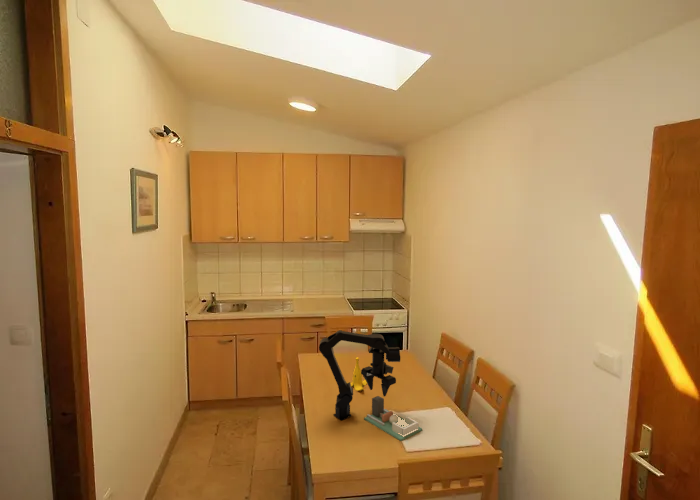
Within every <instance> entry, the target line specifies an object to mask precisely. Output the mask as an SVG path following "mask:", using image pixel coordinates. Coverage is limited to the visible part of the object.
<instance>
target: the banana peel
mask: <svg viewBox="0 0 700 500" xmlns="http://www.w3.org/2000/svg"><path fill="white" fill-rule="evenodd" d="M359 360H360V357H355V367H354V370H353V373H352V379H351V380H352V381H351V382H350V383H351V387H352V388H353V390H355V391H357V392H359V391H364V390H365V388H364V386H366V385H368V384H367V382H366V380H365V379H363V375H362V374H361V368H360V365H359V362H360V361H359ZM346 382H347V381H346ZM347 383H349V382H347Z"/></svg>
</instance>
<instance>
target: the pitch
mask: <svg viewBox="0 0 700 500" xmlns="http://www.w3.org/2000/svg"><path fill="white" fill-rule="evenodd" d="M390 411H391V410H388V409H387V408H384V414H385V413H387V412H390ZM398 417H400V418H401V420H402V419H403V420H404V419H405V422H406V423H407V424H409V425H408V426H406V427H402V425H401V426H400V425H398V424H396V423H394V422H393V423H390V421H389V420H388V421H386V422H382V417H376V416H374V415H373V414H372V413H371V414H369V413H367V415H366V416H365V417H364V418H363V420H365V421H366V422H368V423H369V424H371V425H373V426H375V427H376V428H377V429H379V430H381V431H383V432H385V433H386V434H388V435H389V436H392V437H393V438H395V439H397V440H398V441H400V442H402V441H404V440H406V439H408V438H410V437H413V436H414V435H416V434H418V433H420V432H422V431H423V428H422V427H420V426H419V422H418V421H416V420H415V419H413V418H411V417H409V416H405V417H404V418H403V417H401V416H399V415H398ZM403 426H404V425H403ZM415 429H418V430H416V431H414V432H412V433H410V434H408V435H406V436H404V437H403V436H402V435H405V434H407V433H409V432H411V431H413V430H415ZM398 433H400V434H402V435H400V434H398Z"/></svg>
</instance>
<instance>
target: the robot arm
mask: <svg viewBox="0 0 700 500" xmlns="http://www.w3.org/2000/svg"><path fill="white" fill-rule="evenodd" d="M342 341H344V342H348V343H355V344H361V345H366V346H368V347H370V348H369V349H368V353H369V354H371V355H372V360H371V363H370V365H369V366H366V367H362V369H360V371H361V375H362V378H364V380H366V382H367V384H366V385H368V388H369V391H372V390H373V387H374V378H375V377H376V378H377V379H380V380H381V381H380V382H381V384H380V385H381V391H382V392H381V393H382V397H384V398H385V397H387V394H388V391H389V389H390V387H391V386H392V385H394V384H397V378H396V377H395V376H393V375H391V374H393V372H394V371H393V370H394V367H393V366H391V365H389V364H387V363H386V362H385V360H387V362H388V363H400V362H401V353H400V352H401V351H400V350H401V349H400V347H399V346H396V347H391V346H390V347H389V346H388V344H387V343H386V341H385V338H384V336H383V335H382V334H380V333H370V334H363V333H358V332H357V333H356V332H352V331H351V332H350V331H345V330H341V329H340V330H337V331H336V332H334V333H332V334H330V335H329V336H327V337H323V338H322V339H321V340H320V342H319V345H318V350H319V351H320V353H321V355H322V356H323V358H324V359H325V360H326V361H327V364H328V365H329V368H330V370H331V373H332V375H333V378H334V380H335V382H336V385H337V388H338V394H337V395H336V400H335V401H336V402H335V405H334V406H335V407H334V408H335V413H333V417H335V418H336V419H338V420H340V421H343V420H346V419H348V418H351V417H352V414H351V405H350V403H351V402H352V401H353V399H354V398H353V397H354V396H353V395H354V387H353V386H352V387H351V383H352V382H348V383H347V381H346V379H345V377H344V375H343V373H342V370H341V368H340V365H339V363H338V360H337V359H336V356H335V352H334V348H335V346H337V344H339V342H342ZM387 374H388V375H387Z"/></svg>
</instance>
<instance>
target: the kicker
mask: <svg viewBox="0 0 700 500" xmlns="http://www.w3.org/2000/svg"><path fill="white" fill-rule="evenodd" d="M384 409H385V399H384V398H383V397H381V396H379V395H377V396H374V397H372V398H371V415H372V414H373V415H374V416H376V417H382V422H386V421H388V420H389V418H390V416H391V415H393V413H394V412H393V411H392V410H389V411H390V412H387V413H385V414H384Z"/></svg>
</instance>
